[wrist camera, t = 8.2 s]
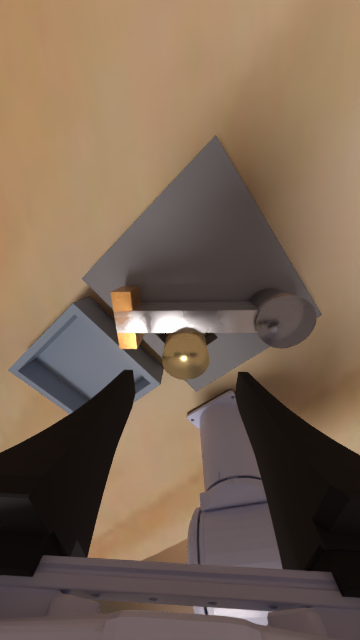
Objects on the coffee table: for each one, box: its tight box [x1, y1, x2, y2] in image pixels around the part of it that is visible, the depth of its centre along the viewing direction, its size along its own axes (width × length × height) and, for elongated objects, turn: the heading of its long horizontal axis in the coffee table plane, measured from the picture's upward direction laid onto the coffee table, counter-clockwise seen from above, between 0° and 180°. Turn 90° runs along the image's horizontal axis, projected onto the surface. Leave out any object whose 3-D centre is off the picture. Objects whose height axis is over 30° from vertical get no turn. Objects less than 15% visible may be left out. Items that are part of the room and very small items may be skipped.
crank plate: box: [82, 135, 322, 391], centre depth 18 cm, size 18×16×2 cm
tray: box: [8, 296, 164, 414], centre depth 21 cm, size 13×13×3 cm
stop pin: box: [162, 333, 210, 380], centre depth 17 cm, size 4×4×6 cm
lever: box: [110, 286, 316, 349], centre depth 15 cm, size 16×5×4 cm, turn 91°
